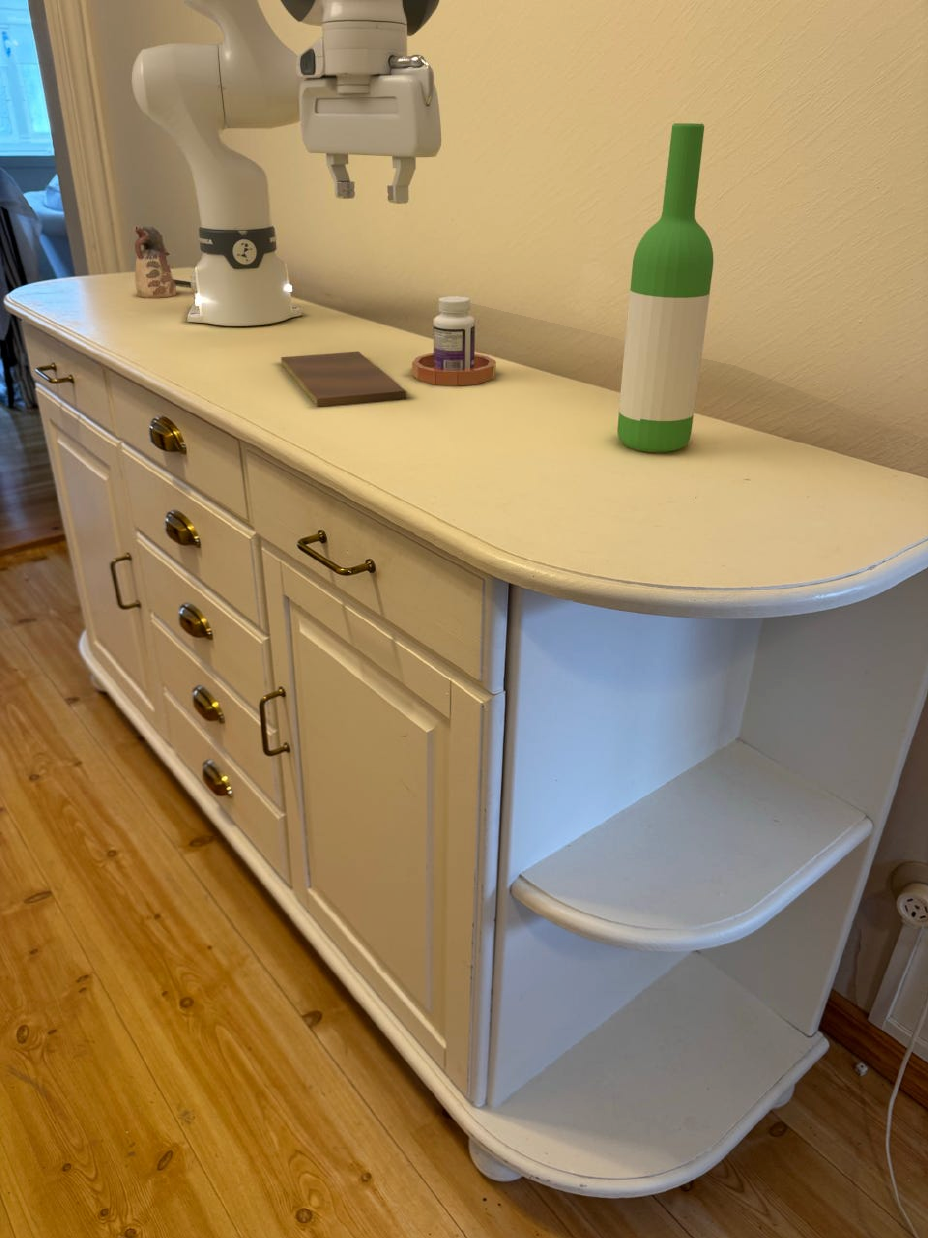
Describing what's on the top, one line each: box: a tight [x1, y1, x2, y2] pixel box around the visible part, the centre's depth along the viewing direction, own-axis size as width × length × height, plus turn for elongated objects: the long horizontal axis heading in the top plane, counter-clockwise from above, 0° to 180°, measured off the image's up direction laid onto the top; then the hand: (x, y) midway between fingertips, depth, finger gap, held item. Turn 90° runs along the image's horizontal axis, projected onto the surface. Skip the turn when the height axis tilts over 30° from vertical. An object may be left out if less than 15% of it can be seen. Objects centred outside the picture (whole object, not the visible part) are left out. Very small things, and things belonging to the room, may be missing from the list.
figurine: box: [134, 225, 178, 299], centre depth 170 cm, size 7×7×12 cm
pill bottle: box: [433, 295, 476, 370], centre depth 121 cm, size 5×5×10 cm
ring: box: [411, 352, 497, 387], centre depth 122 cm, size 11×11×2 cm
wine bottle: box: [616, 122, 714, 453], centre depth 91 cm, size 8×8×30 cm
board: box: [280, 351, 407, 408], centre depth 120 cm, size 22×11×1 cm, turn 21°
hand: (370, 200), depth 104 cm, fingers open, 8 cm apart
